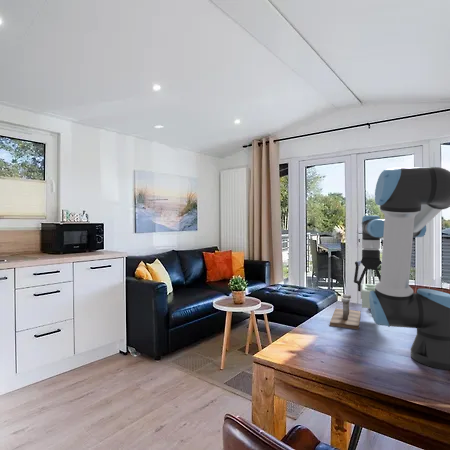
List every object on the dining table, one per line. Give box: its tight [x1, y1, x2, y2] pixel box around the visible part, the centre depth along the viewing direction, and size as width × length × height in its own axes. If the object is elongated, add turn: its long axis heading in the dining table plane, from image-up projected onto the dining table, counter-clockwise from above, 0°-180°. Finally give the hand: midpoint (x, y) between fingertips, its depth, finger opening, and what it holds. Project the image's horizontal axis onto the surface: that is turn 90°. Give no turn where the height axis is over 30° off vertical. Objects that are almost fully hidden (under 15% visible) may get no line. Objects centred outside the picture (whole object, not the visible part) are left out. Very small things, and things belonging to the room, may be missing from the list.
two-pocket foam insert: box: [361, 283, 376, 309], centre depth 147 cm, size 21×7×7 cm, turn 156°
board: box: [329, 293, 362, 330], centre depth 153 cm, size 25×12×11 cm, turn 155°
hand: (370, 299), depth 147 cm, fingers closed on two-pocket foam insert, 7 cm apart
